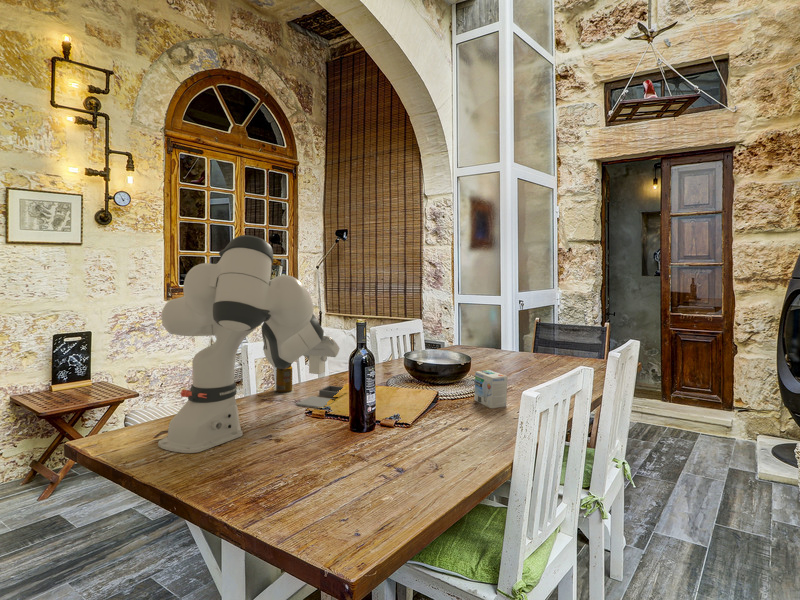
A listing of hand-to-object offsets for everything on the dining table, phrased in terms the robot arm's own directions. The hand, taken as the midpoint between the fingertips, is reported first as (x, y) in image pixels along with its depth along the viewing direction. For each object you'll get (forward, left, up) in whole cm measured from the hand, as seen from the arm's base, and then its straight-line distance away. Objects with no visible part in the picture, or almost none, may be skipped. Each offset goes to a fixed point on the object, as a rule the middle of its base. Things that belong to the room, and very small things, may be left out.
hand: (318, 359), depth 165 cm
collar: (+11, 0, -15) cm, 19 cm away
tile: (-1, 0, -15) cm, 15 cm away
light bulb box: (+23, -56, -16) cm, 62 cm away
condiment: (+7, +19, -16) cm, 26 cm away
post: (-1, 0, -5) cm, 5 cm away
